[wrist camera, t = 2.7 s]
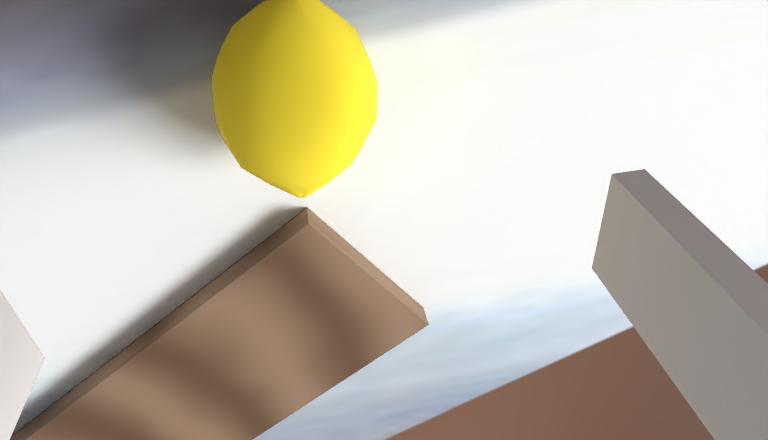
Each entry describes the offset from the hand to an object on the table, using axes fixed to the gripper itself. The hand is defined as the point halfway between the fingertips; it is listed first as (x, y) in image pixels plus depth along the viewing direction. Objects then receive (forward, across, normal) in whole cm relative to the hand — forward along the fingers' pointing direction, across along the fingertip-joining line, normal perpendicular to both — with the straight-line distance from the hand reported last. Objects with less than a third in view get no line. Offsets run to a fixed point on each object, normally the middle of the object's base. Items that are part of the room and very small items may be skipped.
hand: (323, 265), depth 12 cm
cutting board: (+11, -7, -16) cm, 20 cm away
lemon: (+11, 0, 0) cm, 11 cm away
